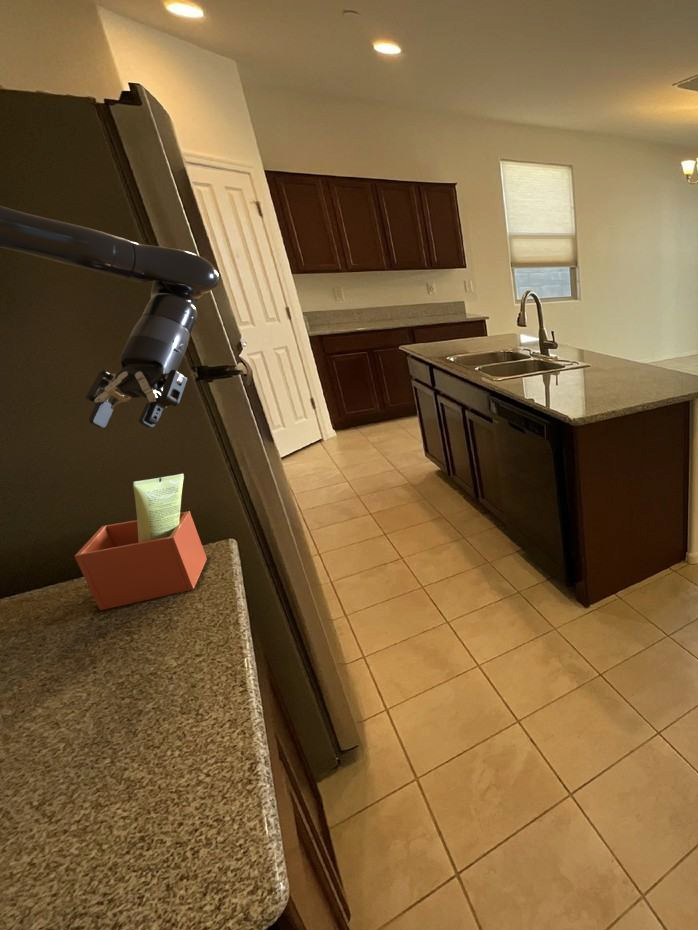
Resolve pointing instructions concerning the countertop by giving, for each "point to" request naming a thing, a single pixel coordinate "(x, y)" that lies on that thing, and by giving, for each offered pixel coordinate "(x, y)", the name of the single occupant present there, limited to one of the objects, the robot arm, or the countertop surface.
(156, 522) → the tube
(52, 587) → the countertop surface
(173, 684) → the countertop surface
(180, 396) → the robot arm
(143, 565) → the trash bin
